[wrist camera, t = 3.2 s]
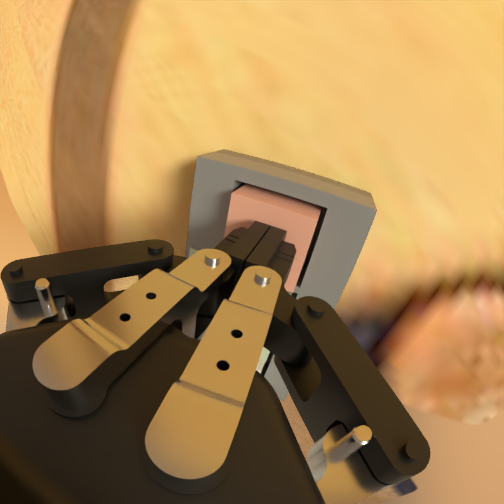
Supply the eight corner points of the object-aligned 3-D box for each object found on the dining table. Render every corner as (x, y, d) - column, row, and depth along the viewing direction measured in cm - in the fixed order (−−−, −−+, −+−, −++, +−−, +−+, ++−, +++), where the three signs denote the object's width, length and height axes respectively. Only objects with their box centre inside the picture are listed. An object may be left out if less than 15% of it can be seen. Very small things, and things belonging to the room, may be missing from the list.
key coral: (299, 273, 15) (292, 292, 14) (233, 249, 16) (219, 266, 14) (322, 207, 13) (317, 220, 12) (246, 183, 14) (231, 192, 12)
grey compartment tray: (292, 371, 22) (283, 401, 19) (197, 334, 24) (179, 359, 21) (371, 193, 14) (377, 211, 11) (223, 149, 16) (195, 156, 13)
